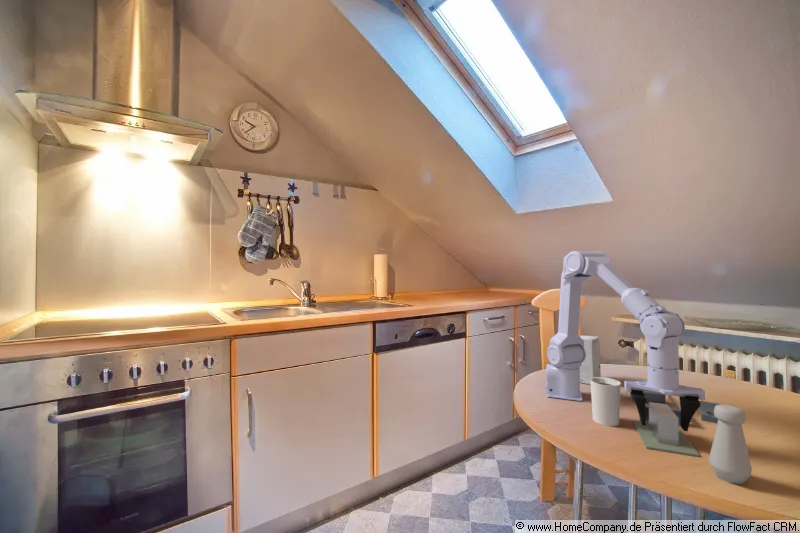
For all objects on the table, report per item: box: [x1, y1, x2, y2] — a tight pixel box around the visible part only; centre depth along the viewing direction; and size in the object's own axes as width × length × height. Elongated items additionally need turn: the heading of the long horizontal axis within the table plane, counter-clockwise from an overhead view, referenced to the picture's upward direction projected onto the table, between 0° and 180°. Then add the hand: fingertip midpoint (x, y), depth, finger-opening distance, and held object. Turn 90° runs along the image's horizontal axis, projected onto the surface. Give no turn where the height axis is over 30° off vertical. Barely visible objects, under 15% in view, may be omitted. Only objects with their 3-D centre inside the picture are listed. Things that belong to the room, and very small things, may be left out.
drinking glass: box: [590, 376, 622, 427], centre depth 89 cm, size 7×7×10 cm
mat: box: [633, 421, 700, 458], centre depth 80 cm, size 9×13×1 cm
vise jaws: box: [629, 392, 694, 427], centre depth 94 cm, size 10×16×4 cm, turn 157°
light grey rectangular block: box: [648, 402, 680, 446], centre depth 80 cm, size 4×8×6 cm, turn 157°
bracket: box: [699, 400, 721, 424], centre depth 92 cm, size 4×11×2 cm, turn 141°
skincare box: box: [579, 334, 602, 386], centre depth 119 cm, size 8×6×15 cm
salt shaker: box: [708, 404, 752, 485], centre depth 65 cm, size 6×6×13 cm
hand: (663, 426), depth 80 cm, fingers open, 7 cm apart
